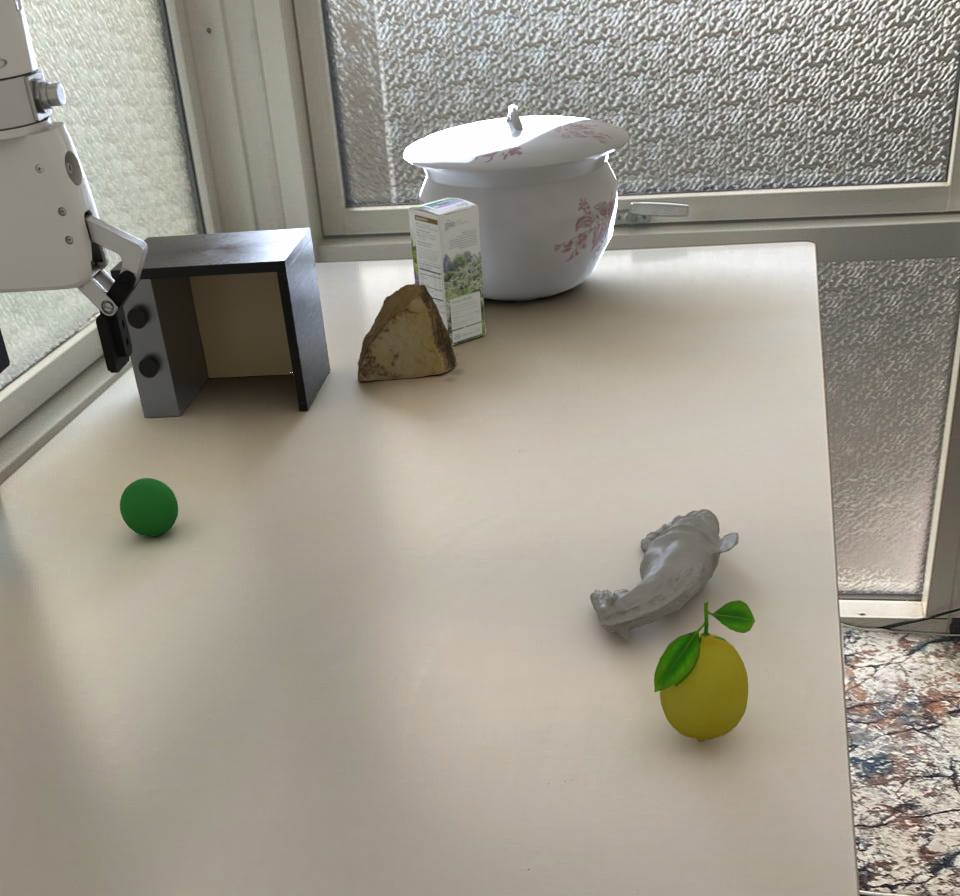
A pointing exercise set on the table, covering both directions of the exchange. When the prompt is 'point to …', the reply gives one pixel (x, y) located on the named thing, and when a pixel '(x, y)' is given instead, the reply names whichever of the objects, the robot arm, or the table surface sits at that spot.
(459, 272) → the syrup box
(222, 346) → the mini oven
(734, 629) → the lemon
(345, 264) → the table surface
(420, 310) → the rock
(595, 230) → the chamber pot
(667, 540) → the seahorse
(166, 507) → the ball
